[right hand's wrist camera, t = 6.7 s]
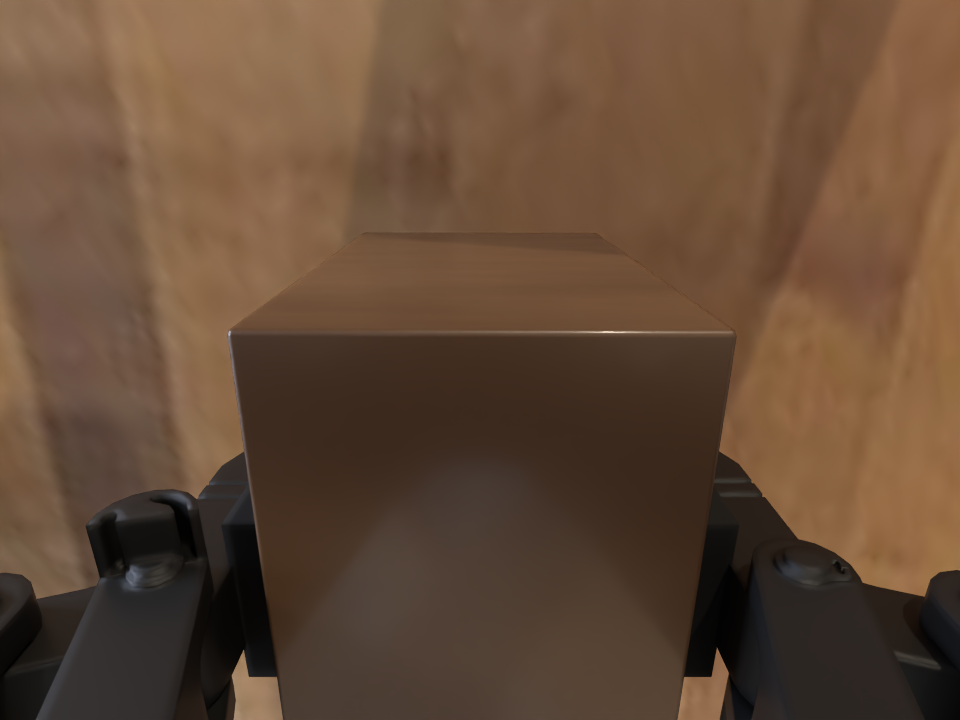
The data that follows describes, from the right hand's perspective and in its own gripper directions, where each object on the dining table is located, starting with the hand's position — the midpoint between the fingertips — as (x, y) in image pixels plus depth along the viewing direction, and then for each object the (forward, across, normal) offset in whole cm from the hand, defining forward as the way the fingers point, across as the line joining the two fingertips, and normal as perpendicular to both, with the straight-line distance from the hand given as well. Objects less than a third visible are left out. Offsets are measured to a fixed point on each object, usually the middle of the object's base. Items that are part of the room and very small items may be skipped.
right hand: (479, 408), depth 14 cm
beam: (0, 0, -28) cm, 28 cm away
